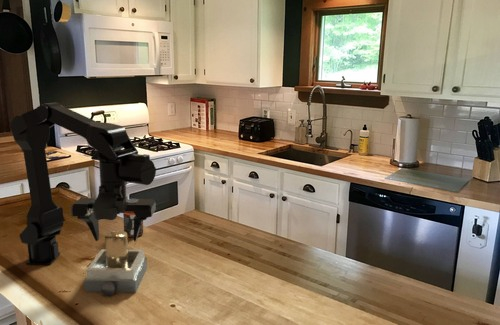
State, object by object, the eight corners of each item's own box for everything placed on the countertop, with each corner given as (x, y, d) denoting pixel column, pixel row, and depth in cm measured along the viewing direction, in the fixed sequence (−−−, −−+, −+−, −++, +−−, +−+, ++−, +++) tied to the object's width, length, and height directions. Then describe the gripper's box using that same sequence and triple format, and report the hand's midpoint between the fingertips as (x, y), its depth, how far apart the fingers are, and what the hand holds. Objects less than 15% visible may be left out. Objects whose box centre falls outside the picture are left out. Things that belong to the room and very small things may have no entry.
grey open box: (81, 296, 95) (80, 274, 93) (101, 267, 108) (100, 248, 107) (133, 296, 95) (133, 275, 94) (147, 268, 108) (146, 249, 107)
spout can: (103, 274, 99) (101, 232, 96) (109, 263, 104) (108, 223, 102) (125, 274, 99) (123, 232, 96) (130, 263, 104) (129, 223, 102)
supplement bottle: (138, 239, 126) (136, 204, 124) (120, 237, 127) (118, 202, 125) (146, 231, 132) (145, 198, 129) (129, 229, 133) (128, 196, 130)
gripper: (58, 188, 88) (63, 254, 92) (144, 190, 89) (147, 256, 92) (78, 175, 99) (82, 235, 103) (155, 176, 100) (157, 236, 103)
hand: (116, 240), depth 100 cm, fingers open, 9 cm apart
